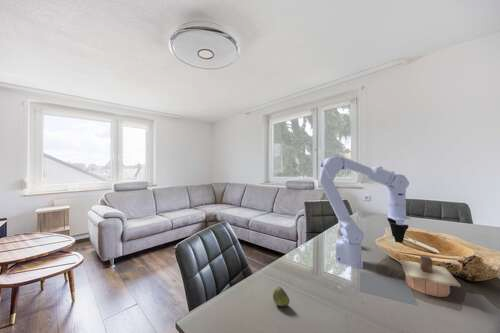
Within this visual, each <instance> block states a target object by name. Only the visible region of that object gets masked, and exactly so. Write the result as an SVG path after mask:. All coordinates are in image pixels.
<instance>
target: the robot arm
mask: <svg viewBox="0 0 500 333" xmlns="http://www.w3.org/2000/svg"><path fill="white" fill-rule="evenodd" d="M319 170H320V171H319V177H318V178H319V179H318V181H319V184H320V185H321V188H322V189H323V191H324V194H325V196H326V198H327V199H328V202H329V203H330V206H331V208H332V209H333V212H334V214H335V216H336V218H337V221H338V226H339V225H340V232H341V233H342V234H343V236H342V238H341V239H338V238H336V241H335V264H339V265H343V266H347V267H353V268H359V269H363V268H364V261H363V259H362V258H363V257H362V254H363V253H362V241H363V240H364V237H365V235H364V232H363V230H362V229H361V228H360V227H359V226H358V225H357V224H356V222H355V220H353V218H352V217H351V214H350V212H349V210H348V208H347V207H346V204H345V203H344V200H343V199H342V196H341V195H340V192H339V190H338V188H337V187H336V184H335V182H334V181H335V178H336V176H337V174H338V173H339V172H340V171H341V170H350V171H353V172H356V173H360V174H362V175H366V176H367V178H368V179H369V180H370V181H372V182H375V183H379V184H381V185H383V186H386V187H387V218H386V220H387V221H388V224H389V227H390V231H391V234H392V237H393V238H394V241H395V243H400V244H403V241H404V238H405V235H406V232H407V230H408V229H409V224H404V222H405V221H406V220H410V219H411V216H409V215H407V202H406V201H407V199H406V198H407V196H406V195H407V194H406V192H407V189H408V187H409V185H410V181H408V178H407V177H406V176H405V175H404V174H401V173H400V174H399V173H398V174H397V173H395V171H393V170H390V171H389V170H387V169H384V168H383V166H380V165H378V166H372V167H369V166H367V165H364V164H361V163H359V162H357V161H354V160H351V159H349V158H346V157H340V156H338V155H332V156H328V157H326V158H324V159H323V160H322V162H321V163H320V167H319Z"/></svg>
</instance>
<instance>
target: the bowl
mask: <svg viewBox="0 0 500 333" xmlns="http://www.w3.org/2000/svg"><path fill="white" fill-rule="evenodd" d="M405 281H406V282H407V284H408V285H409V286H410V288H411V289H413V290H415V291H417V292H420V293H423V294H425V295H427V296H428V295H429V296H432V297H433V296H434V297H441V298H442V297H448V296H449V295H450V294H451V292H450V291H451V288H450V286H451V285H447V284H442V283H437V282H432V281H427V280H422V279H417V278H412V277H407V276H406V275H405Z"/></svg>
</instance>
